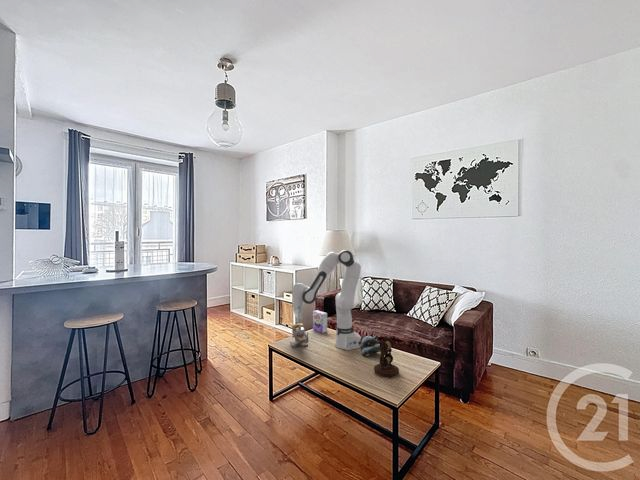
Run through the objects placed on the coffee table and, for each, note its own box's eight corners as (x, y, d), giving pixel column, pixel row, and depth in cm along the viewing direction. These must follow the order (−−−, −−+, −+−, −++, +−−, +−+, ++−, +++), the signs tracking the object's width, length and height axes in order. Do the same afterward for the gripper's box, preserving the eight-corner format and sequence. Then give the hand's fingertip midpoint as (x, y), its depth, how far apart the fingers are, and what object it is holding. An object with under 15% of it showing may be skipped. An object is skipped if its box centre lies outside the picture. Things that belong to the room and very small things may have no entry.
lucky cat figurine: (360, 357, 201) (355, 336, 207) (362, 358, 212) (357, 338, 218) (382, 352, 199) (376, 331, 205) (383, 353, 210) (377, 333, 216)
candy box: (312, 329, 262) (312, 310, 262) (317, 328, 266) (317, 309, 266) (322, 333, 251) (322, 314, 251) (327, 332, 255) (327, 312, 255)
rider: (302, 332, 223) (302, 325, 223) (304, 334, 218) (303, 327, 218) (296, 333, 222) (296, 326, 222) (297, 335, 217) (297, 328, 217)
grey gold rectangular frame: (305, 340, 234) (304, 323, 234) (311, 353, 210) (311, 333, 210) (289, 342, 232) (289, 324, 231) (294, 354, 207) (294, 334, 207)
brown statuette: (381, 365, 190) (381, 334, 190) (403, 371, 181) (403, 339, 180) (369, 373, 179) (369, 340, 178) (392, 381, 169) (392, 346, 169)
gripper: (304, 307, 218) (304, 326, 218) (299, 301, 238) (299, 318, 238) (295, 307, 216) (295, 326, 217) (292, 301, 236) (291, 319, 237)
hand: (297, 322), depth 228 cm, fingers closed
